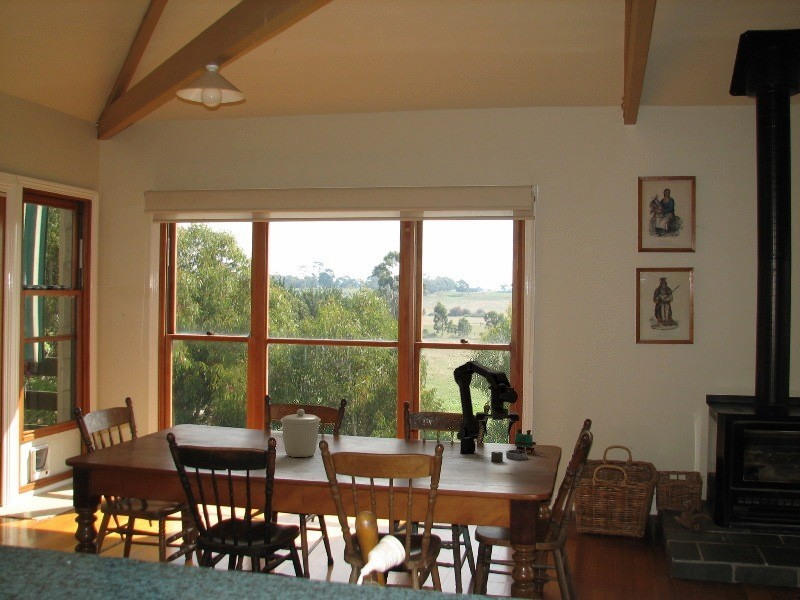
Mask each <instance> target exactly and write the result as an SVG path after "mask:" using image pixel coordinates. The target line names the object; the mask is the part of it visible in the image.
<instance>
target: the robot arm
mask: <svg viewBox="0 0 800 600" xmlns="http://www.w3.org/2000/svg"><path fill="white" fill-rule="evenodd" d="M475 373H476V374H477V375H480V376H481V377H482V378H484V379H485V380H486V382H487V383H488V384H490V386H488V387H487V389H488V390H490V413H486V411H485V412H484V411H476V413H475V416H474V408H473V401H472V393H471V383H472V381H473V375H475ZM452 375H453V378H454V382H455V384H457V386H458V389H459V397H460V398H459V399H460V405H461V413H462V420H461V422H460V425H459V426H460V428H459V431H458V432H457V433H456V440H458V441H460V450H459V451H460V452H459V454H465V455H466V454H470V455H474V454H475V452H476V442H475V440H478V439H479V435H480V431H481V430H480V429H481V427H480V423H481V425H482V428H483V431H484V434H485V436H486V437H488V431H487V430H488V428H487V421H486V419H492V420H493V421H498V420H499V421H503V420H504V419H505V420H508V423H507V431H506V433H507V434H506V436H507V437H509V435H510V434H511V433H510V432H511V429H512V427H513V425H514V424H516V423H517V422H519V421H520V415H519V413H518V412H509V408H505V403H507V404H512V405H513V404H515V403H516V402H518V398H519V395H518V392H517V391H516V390H515V387H512V386H511V383H510V381H509V378H508V376H507V373H506V372H504V371H502V370H497V369H496V370H494V369H492V368H490V367H488V366H485V364H482V363H480V362H478V361H477V360H469V361H468V360H467V362H465V363H463V364H461V365H459V366H458V367H456V368H454V370H453V373H452Z"/></svg>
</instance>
